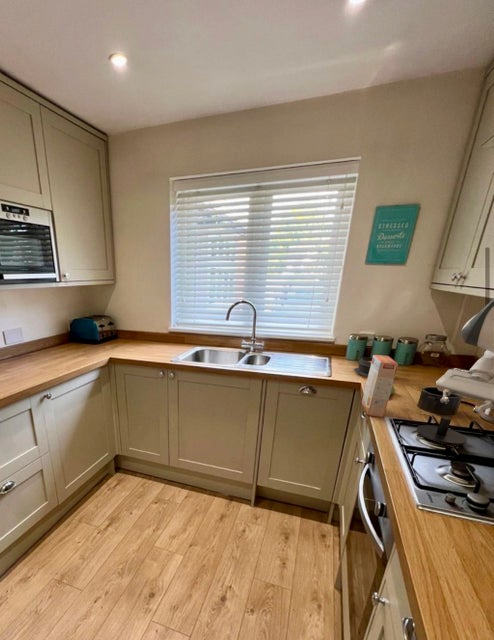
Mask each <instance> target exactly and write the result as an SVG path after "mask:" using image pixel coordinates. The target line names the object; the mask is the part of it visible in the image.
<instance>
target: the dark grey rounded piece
mask: <svg viewBox="0 0 494 640" xmlns="http://www.w3.org/2000/svg"><path fill="white" fill-rule="evenodd" d="M372 358H373V357H369V356H368V357H367V356H366V357H361V358H359V360H358V361H357V364H358V367H355V368H354V372H355V373H357V374H360V375H361V376H362V377H366V378H368V375H369V371H370V366H371V362H372Z"/></svg>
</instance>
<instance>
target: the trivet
mask: <svg viewBox="0 0 494 640" xmlns="http://www.w3.org/2000/svg"><path fill="white" fill-rule="evenodd" d="M416 437H418V438H420V437H424V436H422V435H421V434H419V433H417V434H416ZM425 438H426V437H425ZM427 439H429V438H427ZM430 440H431V439H430ZM433 441H434V440H433ZM436 442H438V441H436ZM438 443H441V442H438ZM441 444H445V445H447V446H450V447H454V446H456V445H455V444H446V443H441ZM456 447H457V446H456ZM454 448H455V447H454Z"/></svg>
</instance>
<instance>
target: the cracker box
mask: <svg viewBox="0 0 494 640" xmlns="http://www.w3.org/2000/svg"><path fill="white" fill-rule="evenodd" d="M371 358H372V362H371V366H370V371H369V375H368V377H367V379H366V384H365V388H364V392H363V396H362V400H361V406H362V407H363V409H364V411H365V413H366V414H367V416H372V417H377V418H385V414H386V410H387V407H388V403H389V401H390V400H389V399H390V397H391V395H390V392H391V389H392V385H393V386H394V381H395V376H396V374H397V370H398V366H399V363H397V362H396V361H395V360H394V359H393V358H392V357H390V356H389V355H384V354H383V355H382V354H373V355H372V357H371Z"/></svg>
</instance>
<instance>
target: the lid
mask: <svg viewBox="0 0 494 640" xmlns="http://www.w3.org/2000/svg"><path fill="white" fill-rule="evenodd" d="M451 422H452V418H451V417H448V416H441V417H440V419H439V423H438V425H430V424H424V425H423V424H422V425H418V426H417V427H416V432H417V434H421V435H422V436H424V437H426V438H429V439H431V440H434V441H438V442H441V443H446V444H455V445H457V446H459V445H465V444H467V442H468V438H467V437H466V436H465V435H463V434H462V433H460V432H458V431H456V430H453V429H450V428H449V427H450V424H451Z"/></svg>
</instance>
